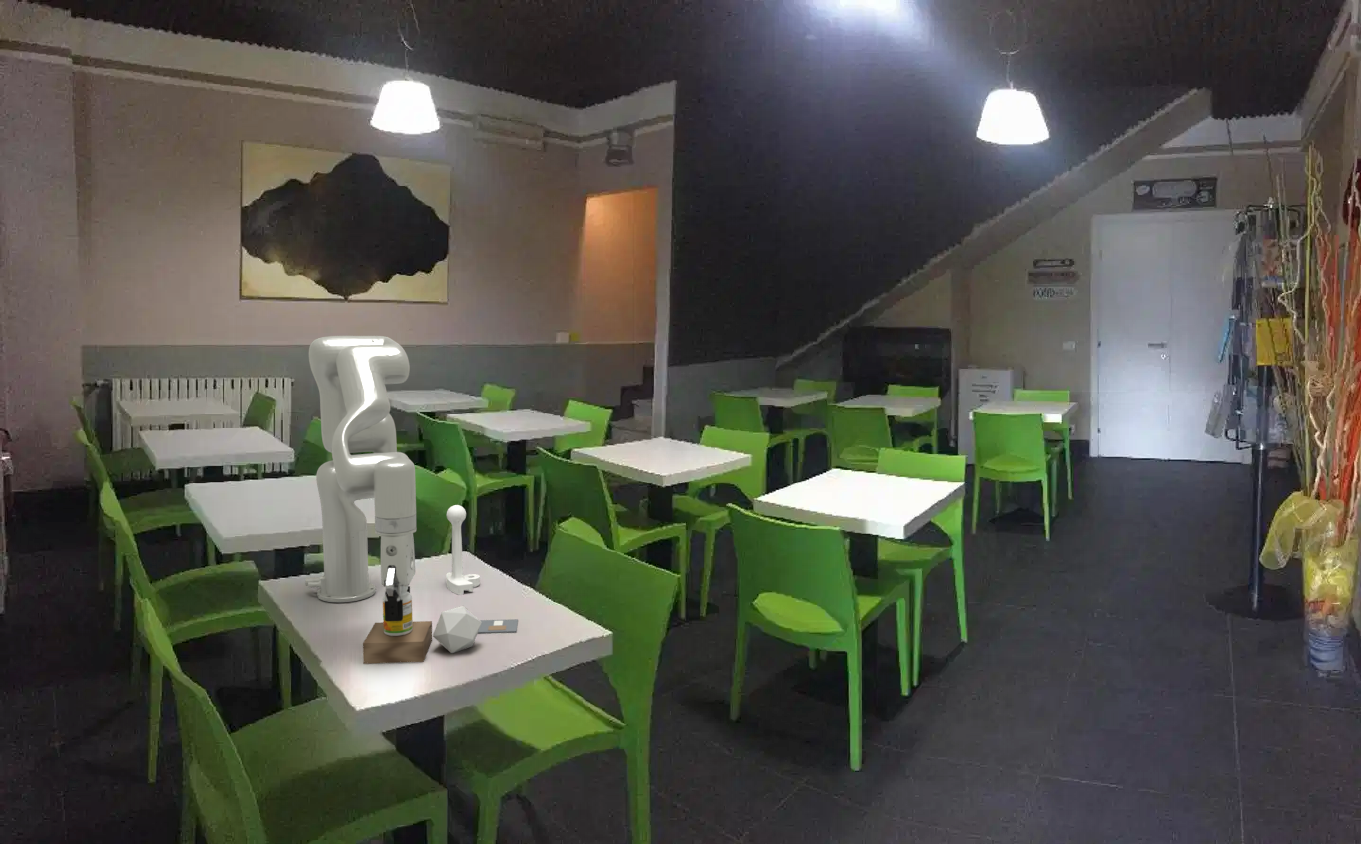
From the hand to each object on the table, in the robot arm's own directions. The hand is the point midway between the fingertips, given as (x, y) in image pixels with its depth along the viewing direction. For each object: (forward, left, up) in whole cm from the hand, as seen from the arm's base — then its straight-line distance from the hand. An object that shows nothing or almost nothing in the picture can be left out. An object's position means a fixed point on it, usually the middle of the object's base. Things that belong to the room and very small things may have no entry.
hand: (398, 612), depth 173 cm
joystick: (+8, +40, -8) cm, 42 cm away
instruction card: (+18, +12, -8) cm, 23 cm away
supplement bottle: (0, 0, -4) cm, 4 cm away
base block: (0, 0, -8) cm, 8 cm away
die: (+11, +1, -8) cm, 14 cm away
